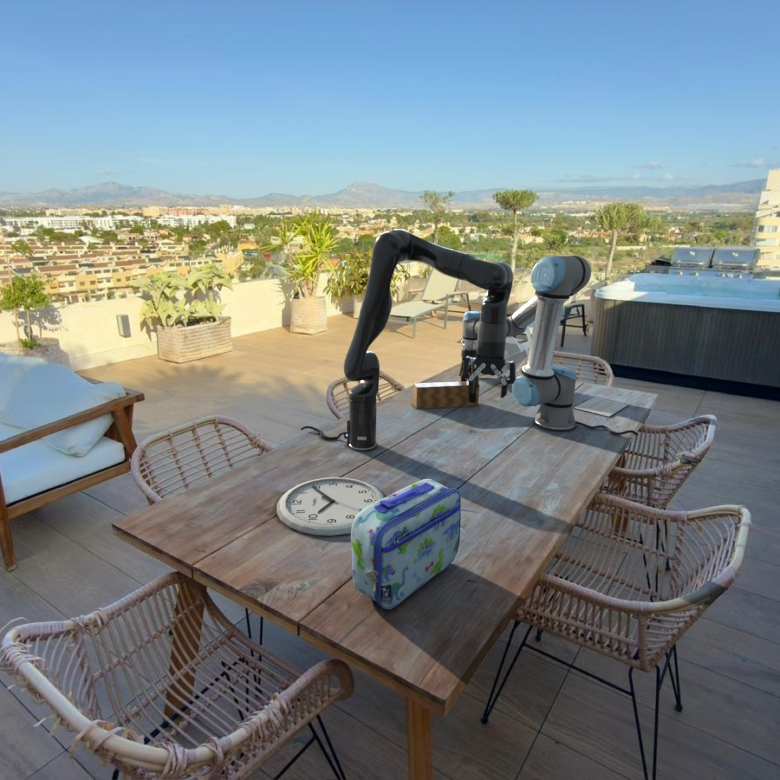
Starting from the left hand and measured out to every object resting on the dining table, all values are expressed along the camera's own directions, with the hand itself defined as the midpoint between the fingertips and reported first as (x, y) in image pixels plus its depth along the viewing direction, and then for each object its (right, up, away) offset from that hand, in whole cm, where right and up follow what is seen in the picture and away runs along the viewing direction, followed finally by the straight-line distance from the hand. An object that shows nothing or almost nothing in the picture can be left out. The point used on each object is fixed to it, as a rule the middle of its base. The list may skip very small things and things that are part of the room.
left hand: (487, 395), depth 146 cm
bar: (-3, -5, +79) cm, 79 cm away
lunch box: (-24, -40, -33) cm, 57 cm away
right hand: (+6, -2, +80) cm, 80 cm away
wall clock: (-43, -30, -4) cm, 53 cm away
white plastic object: (+30, +5, +112) cm, 116 cm away
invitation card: (+64, -6, +80) cm, 103 cm away
